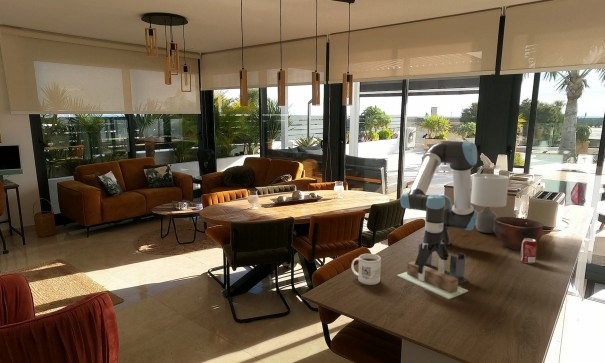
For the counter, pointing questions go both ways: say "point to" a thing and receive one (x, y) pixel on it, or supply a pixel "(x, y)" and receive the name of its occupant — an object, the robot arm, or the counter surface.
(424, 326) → the counter surface
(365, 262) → the mug
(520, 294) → the counter surface
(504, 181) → the lamp
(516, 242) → the bowl
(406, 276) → the mat
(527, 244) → the soda can
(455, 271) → the rack
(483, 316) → the counter surface
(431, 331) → the counter surface
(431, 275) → the rail
